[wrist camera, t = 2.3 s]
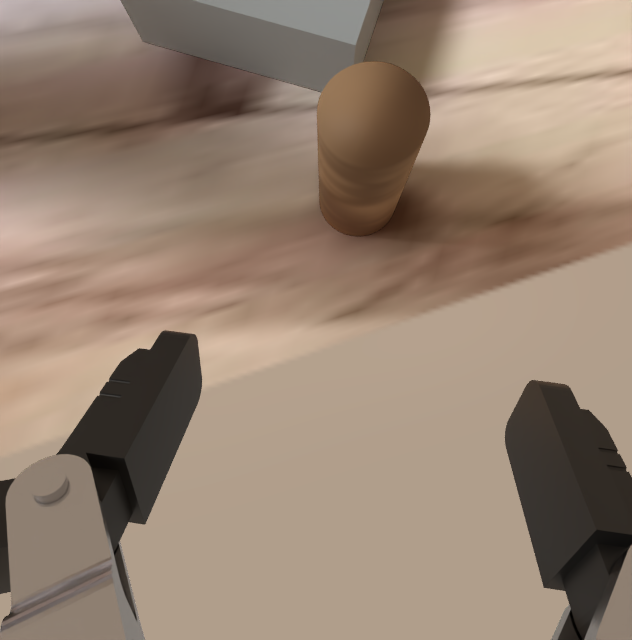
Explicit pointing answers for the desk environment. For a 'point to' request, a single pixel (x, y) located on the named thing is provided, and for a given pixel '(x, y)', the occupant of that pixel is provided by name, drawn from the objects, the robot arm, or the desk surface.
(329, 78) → the socket block
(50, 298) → the desk surface
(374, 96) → the peg
